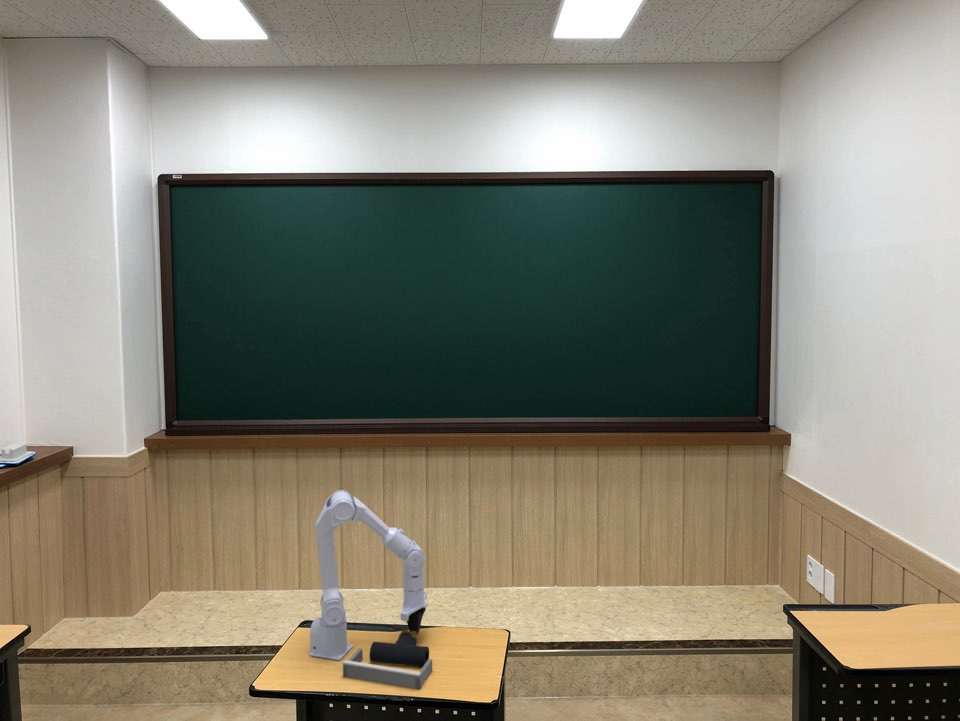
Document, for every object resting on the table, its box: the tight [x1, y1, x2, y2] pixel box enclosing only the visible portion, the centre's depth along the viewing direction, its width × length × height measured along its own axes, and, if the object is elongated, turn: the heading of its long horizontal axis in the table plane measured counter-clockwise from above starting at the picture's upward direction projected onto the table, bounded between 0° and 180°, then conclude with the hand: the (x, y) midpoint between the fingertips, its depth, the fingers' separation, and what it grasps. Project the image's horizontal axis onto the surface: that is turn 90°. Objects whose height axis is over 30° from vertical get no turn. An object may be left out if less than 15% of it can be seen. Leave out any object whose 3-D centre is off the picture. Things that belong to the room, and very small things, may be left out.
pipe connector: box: [369, 629, 430, 668], centre depth 181 cm, size 12×5×15 cm
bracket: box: [342, 647, 433, 690], centre depth 173 cm, size 21×9×4 cm, turn 73°
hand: (414, 633), depth 190 cm, fingers closed
